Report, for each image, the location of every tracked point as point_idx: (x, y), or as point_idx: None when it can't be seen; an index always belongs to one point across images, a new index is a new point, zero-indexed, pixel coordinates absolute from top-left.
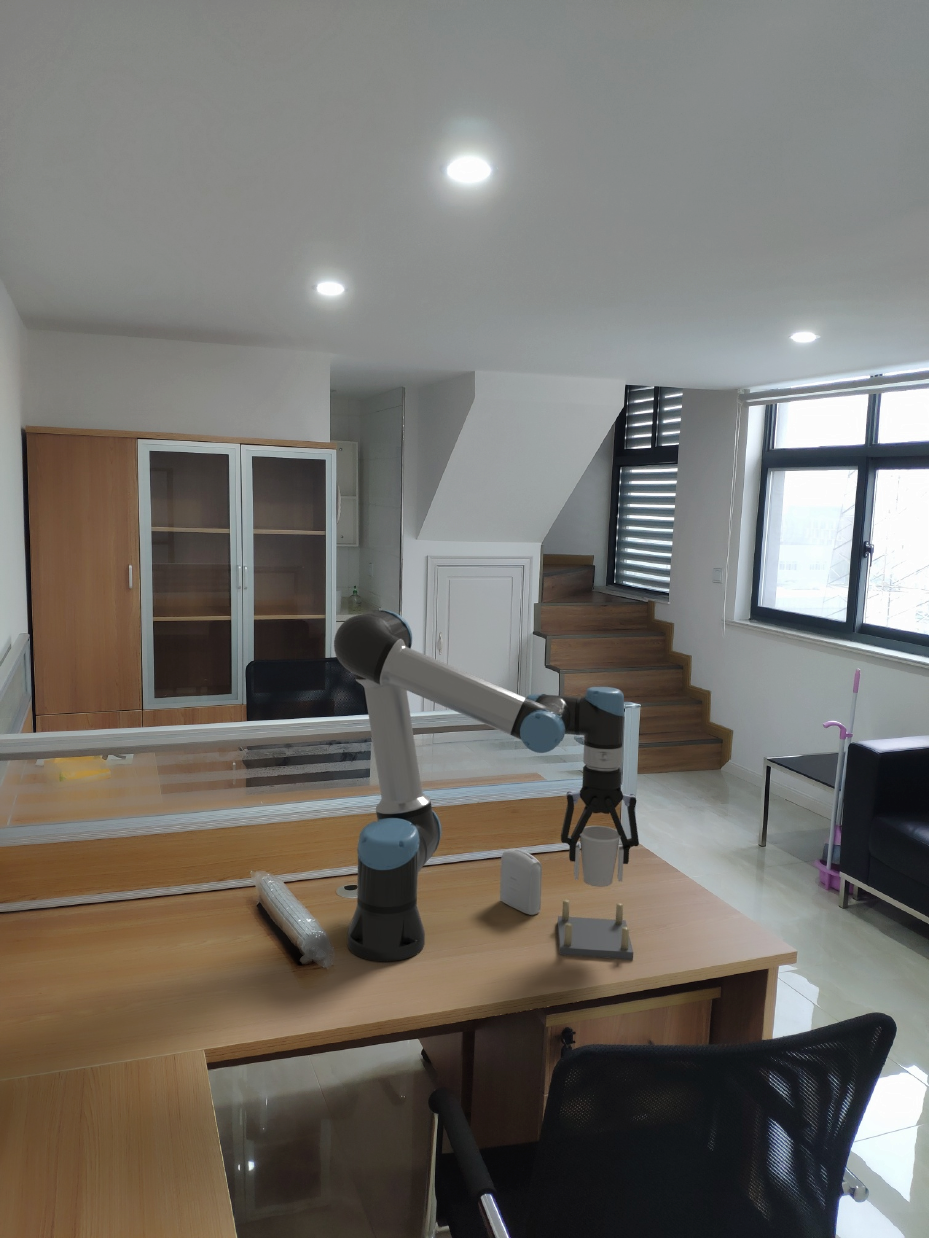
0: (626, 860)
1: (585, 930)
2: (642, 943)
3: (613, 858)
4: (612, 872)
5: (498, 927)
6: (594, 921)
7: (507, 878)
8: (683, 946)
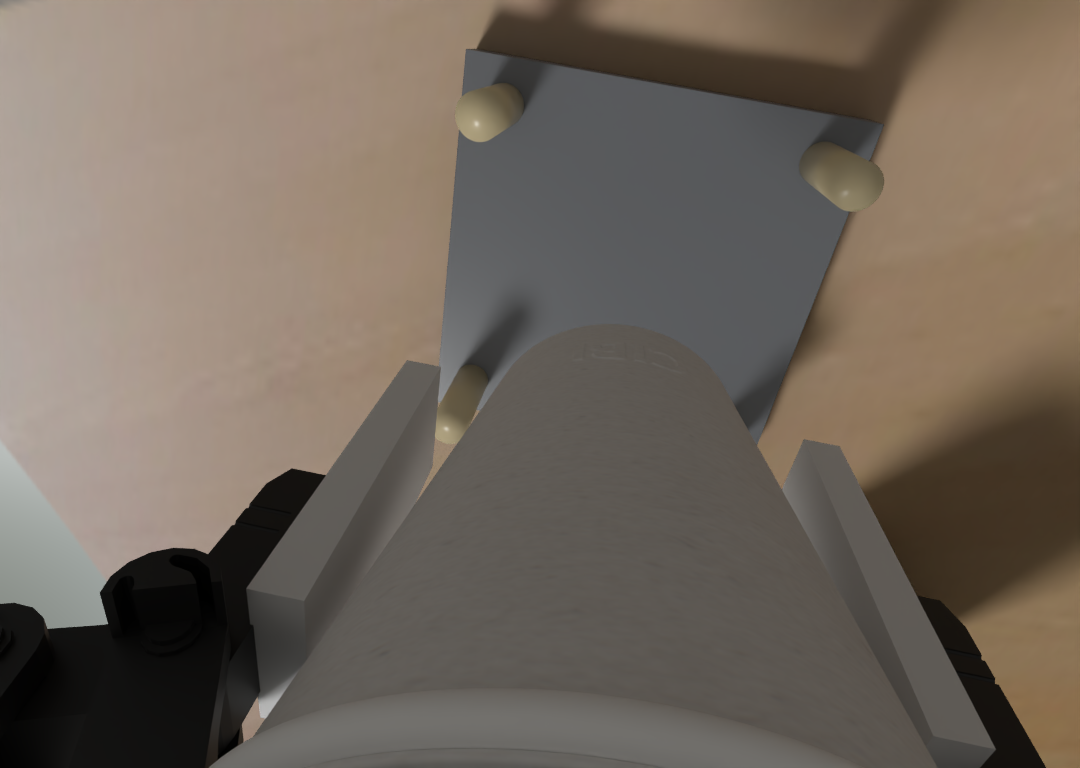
0: (286, 498)
1: (660, 317)
2: (394, 230)
3: (441, 484)
4: (482, 411)
5: (1063, 432)
6: None
7: None
8: (208, 189)
